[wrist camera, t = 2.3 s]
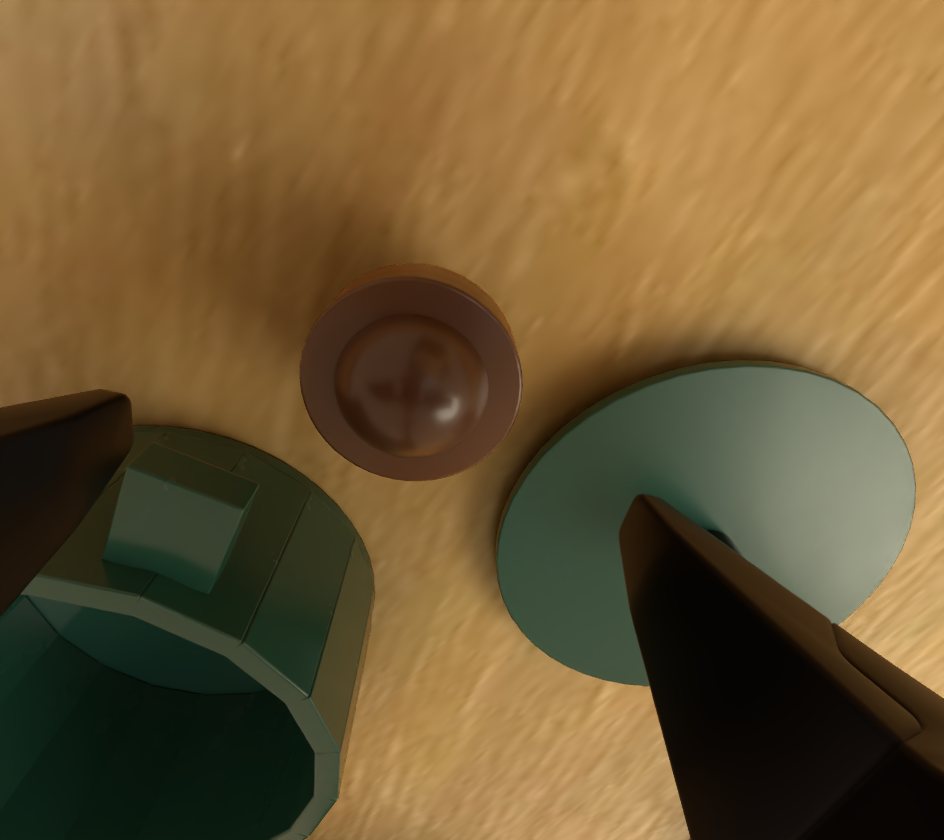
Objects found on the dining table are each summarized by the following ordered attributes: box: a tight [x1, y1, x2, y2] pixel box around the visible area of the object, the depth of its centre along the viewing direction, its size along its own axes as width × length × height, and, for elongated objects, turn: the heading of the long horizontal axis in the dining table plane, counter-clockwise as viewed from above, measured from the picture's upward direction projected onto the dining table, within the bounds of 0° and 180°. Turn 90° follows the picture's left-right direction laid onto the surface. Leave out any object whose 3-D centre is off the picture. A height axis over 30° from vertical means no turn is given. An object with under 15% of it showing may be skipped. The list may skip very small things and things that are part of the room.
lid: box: [496, 360, 916, 686], centre depth 16 cm, size 14×14×5 cm
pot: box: [0, 425, 375, 840], centre depth 16 cm, size 13×19×6 cm
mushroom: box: [300, 263, 523, 481], centre depth 13 cm, size 5×5×5 cm
